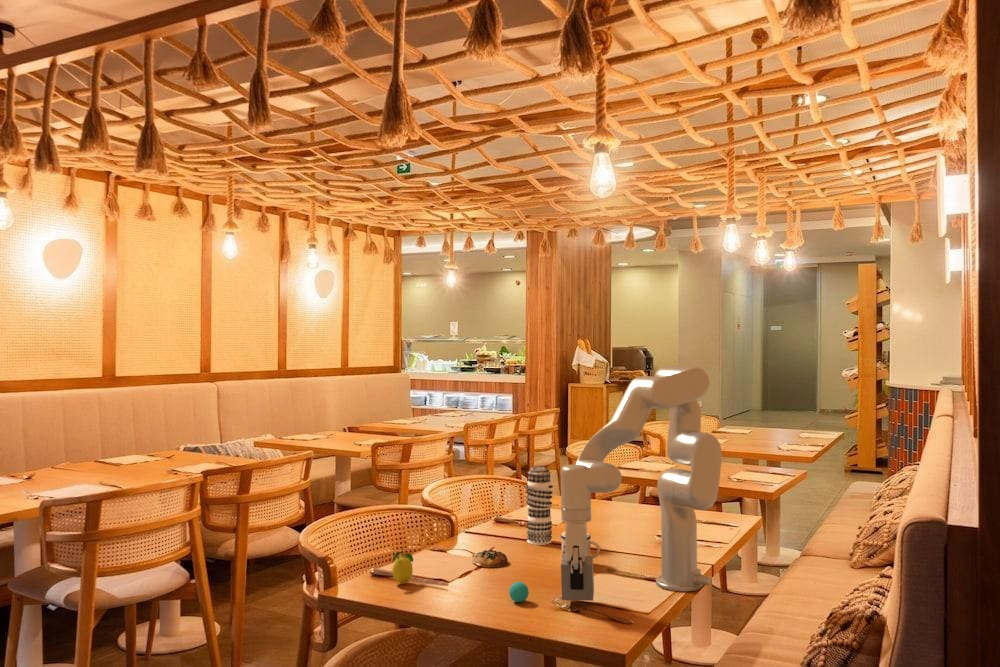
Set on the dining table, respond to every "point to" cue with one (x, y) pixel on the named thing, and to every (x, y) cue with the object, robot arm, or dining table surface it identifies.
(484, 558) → the bread roll
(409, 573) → the lemon
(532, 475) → the decorative candle
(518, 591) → the ball
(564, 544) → the teacup with lid
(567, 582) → the upright gray block
